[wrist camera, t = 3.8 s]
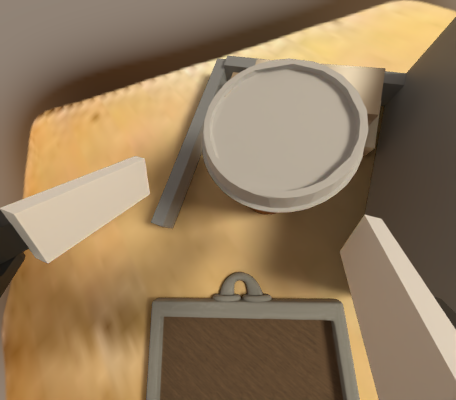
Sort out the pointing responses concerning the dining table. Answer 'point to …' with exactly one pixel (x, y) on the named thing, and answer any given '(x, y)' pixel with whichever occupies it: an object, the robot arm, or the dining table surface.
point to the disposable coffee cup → (284, 135)
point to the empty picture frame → (249, 348)
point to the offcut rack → (382, 161)
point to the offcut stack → (362, 93)
